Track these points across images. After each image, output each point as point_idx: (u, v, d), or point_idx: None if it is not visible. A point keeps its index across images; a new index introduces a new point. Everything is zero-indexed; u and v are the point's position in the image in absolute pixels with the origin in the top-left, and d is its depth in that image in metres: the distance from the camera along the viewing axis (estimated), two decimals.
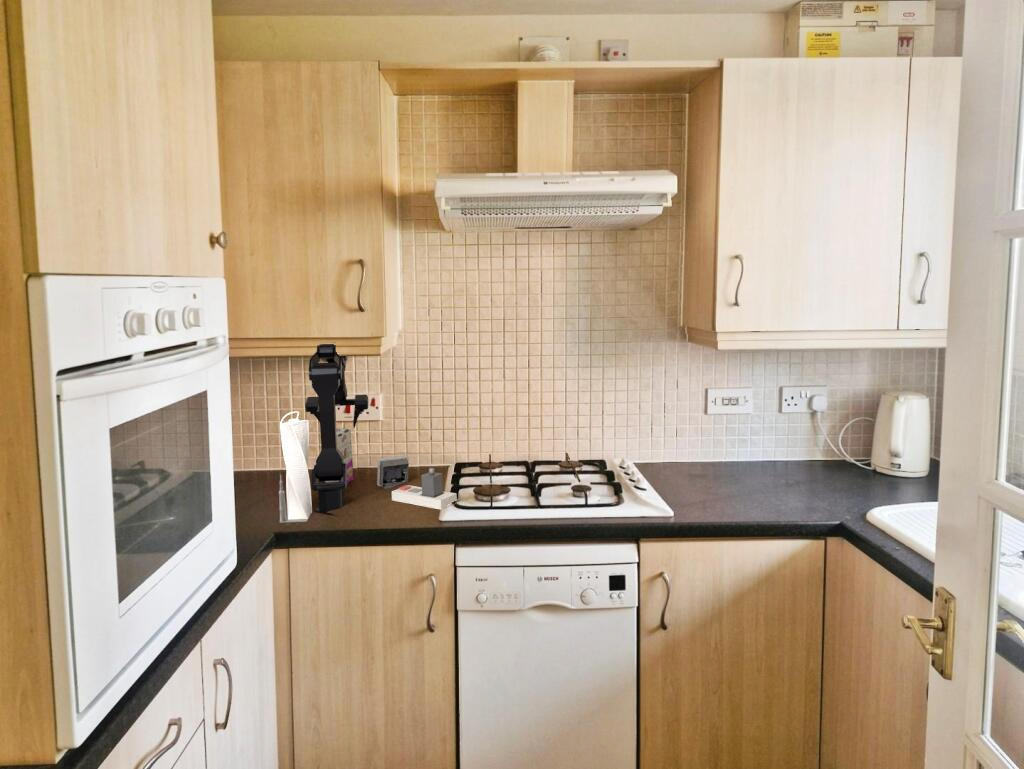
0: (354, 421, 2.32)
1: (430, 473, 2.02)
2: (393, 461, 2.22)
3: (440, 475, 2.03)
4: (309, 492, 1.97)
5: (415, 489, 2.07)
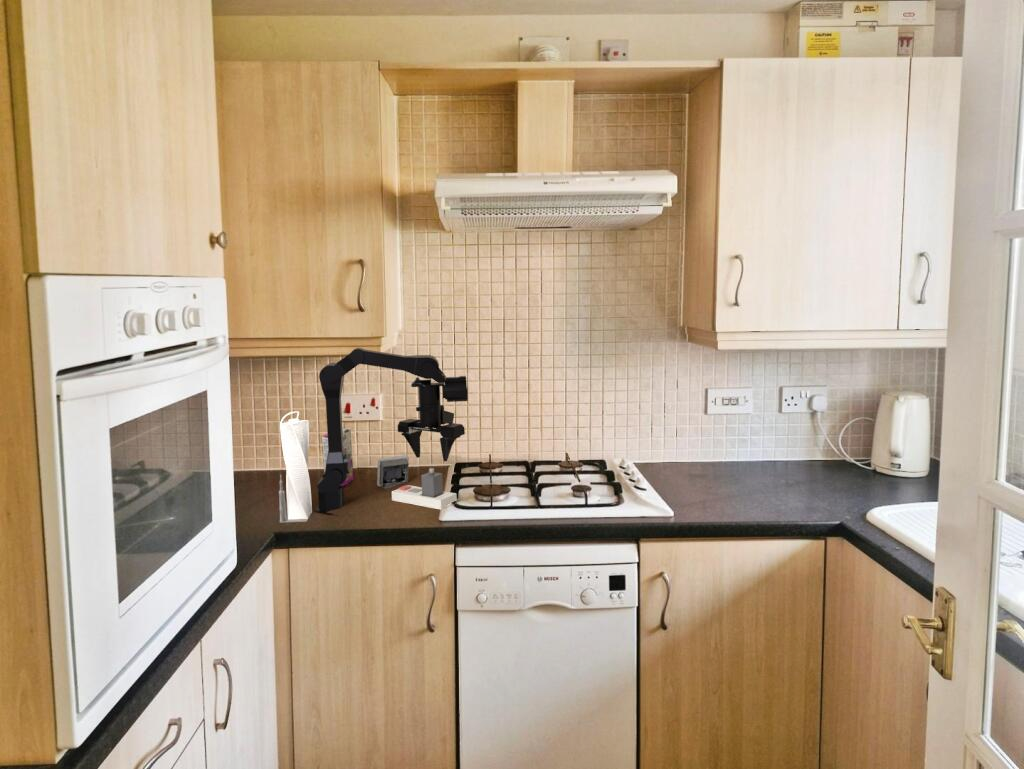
0: (442, 452, 1.99)
1: (430, 473, 2.02)
2: (393, 461, 2.22)
3: (440, 475, 2.03)
4: (309, 492, 1.97)
5: (415, 489, 2.07)
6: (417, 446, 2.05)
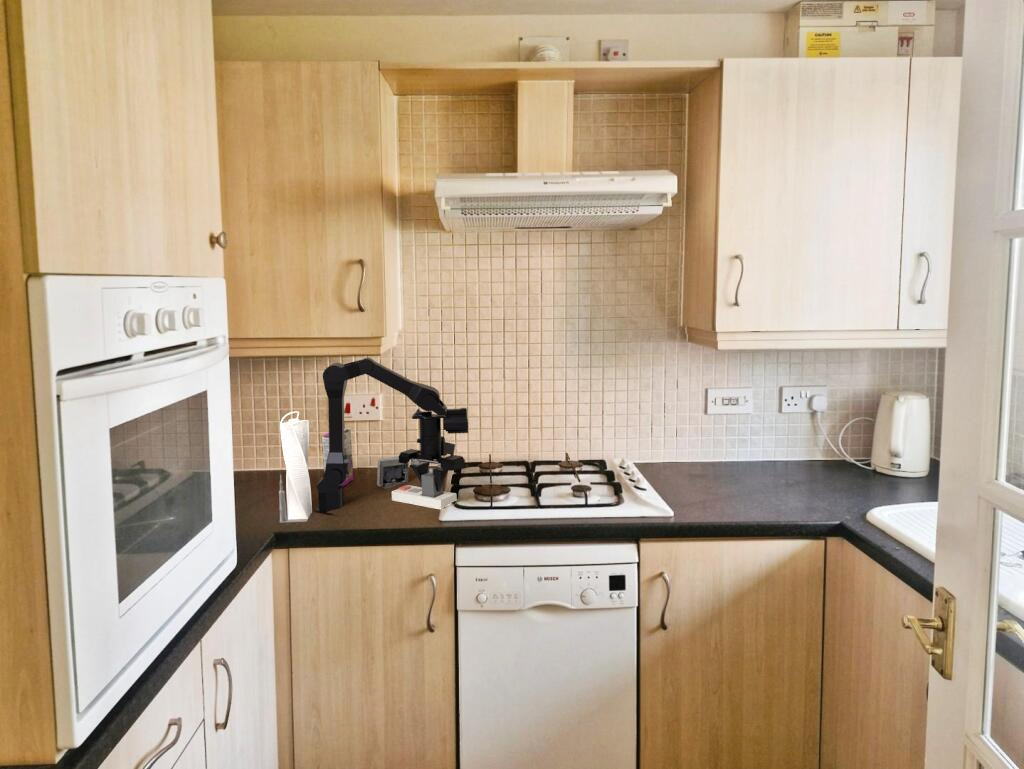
0: (435, 483, 2.01)
1: (430, 473, 2.02)
2: (393, 461, 2.22)
3: None
4: (309, 492, 1.97)
5: (415, 489, 2.07)
6: None
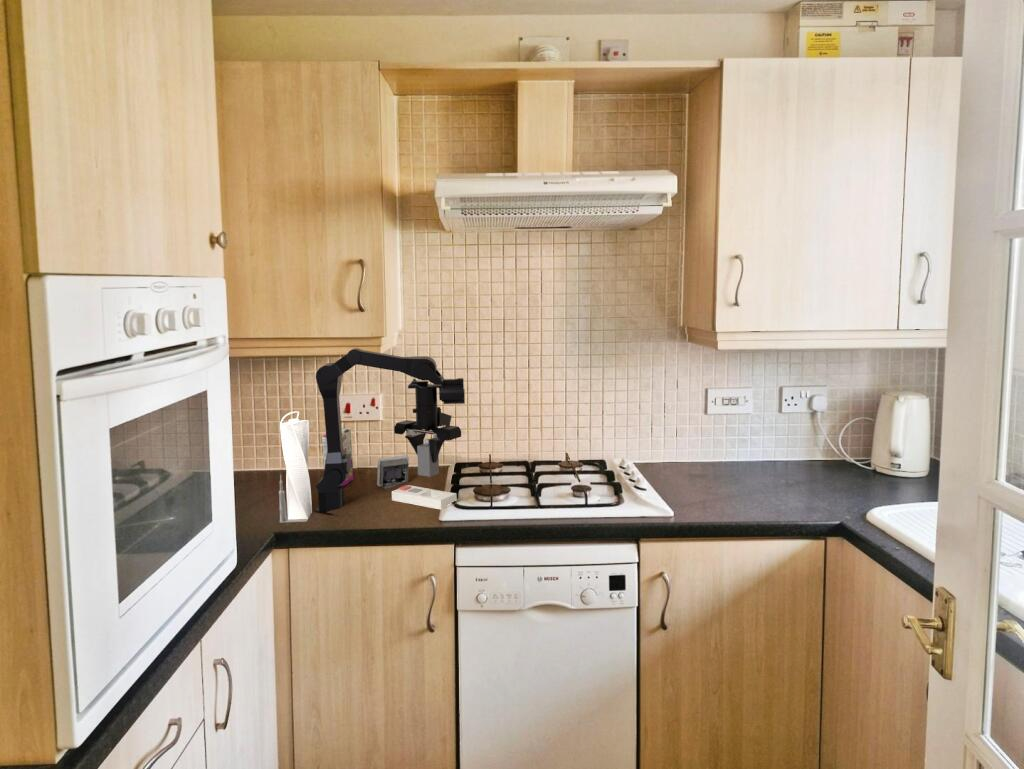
0: (431, 453, 1.99)
1: (426, 444, 2.00)
2: (393, 461, 2.22)
3: None
4: (309, 492, 1.97)
5: (415, 489, 2.07)
6: None
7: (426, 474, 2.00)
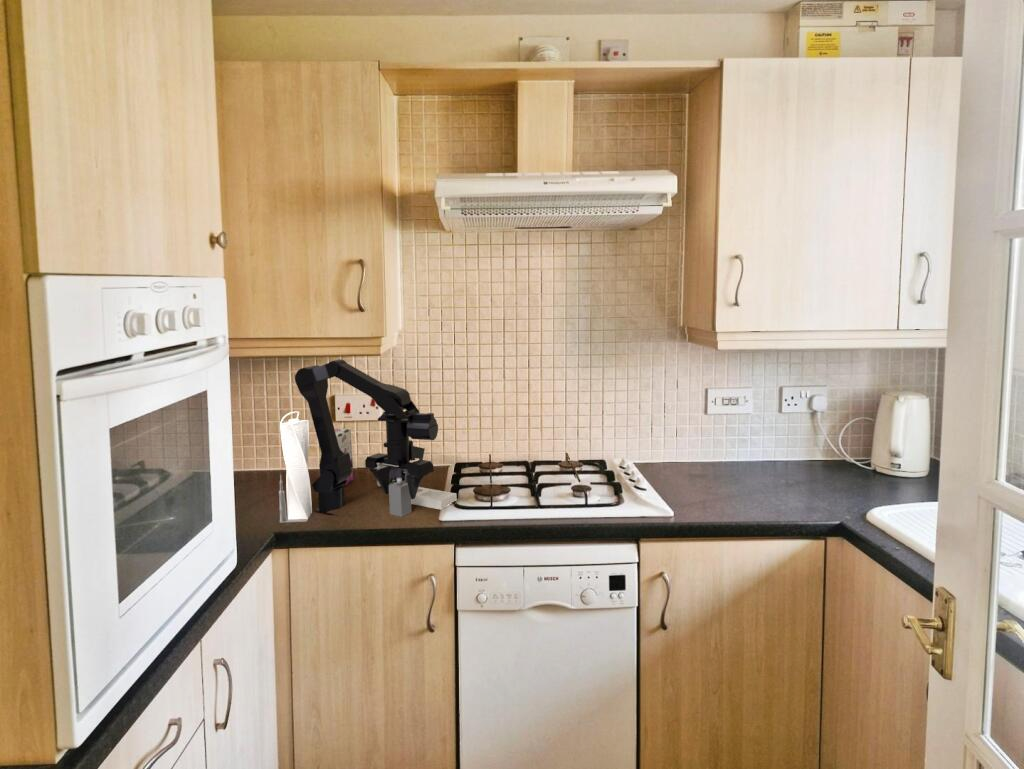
0: (409, 490, 1.91)
1: (398, 483, 1.94)
2: None
3: None
4: (309, 492, 1.97)
5: None
6: (386, 482, 1.97)
7: (398, 514, 1.94)
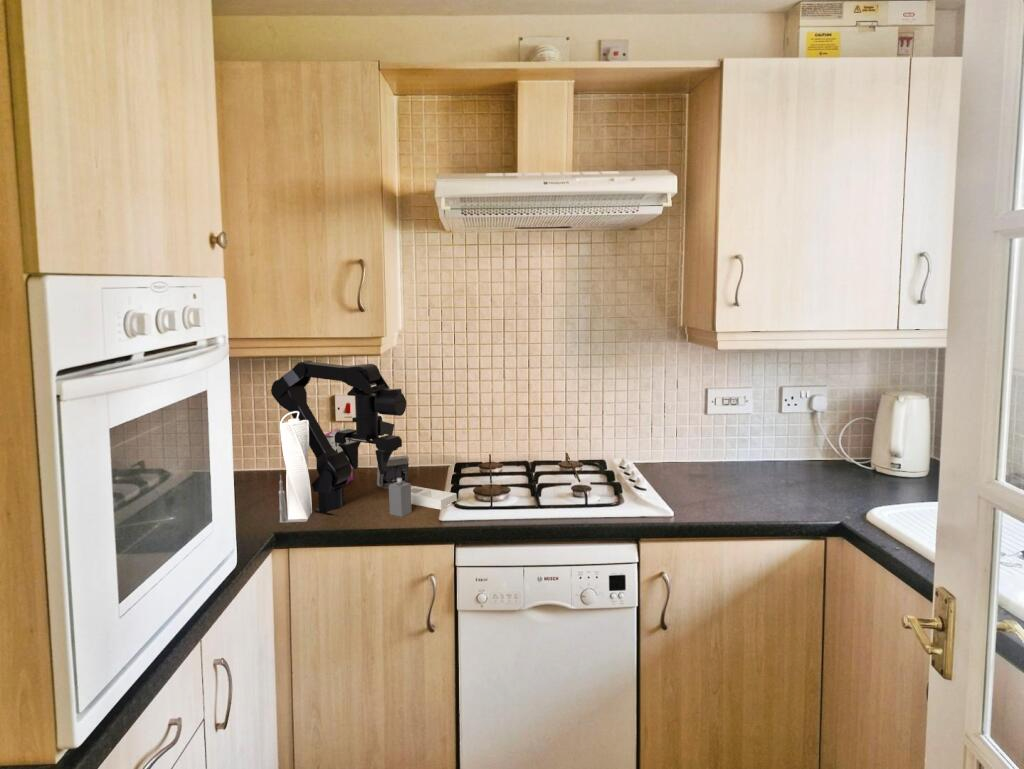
0: (378, 465, 1.92)
1: (398, 483, 1.94)
2: (393, 461, 2.22)
3: (408, 485, 1.95)
4: (309, 492, 1.97)
5: (415, 489, 2.07)
6: (355, 457, 1.98)
7: (398, 514, 1.94)
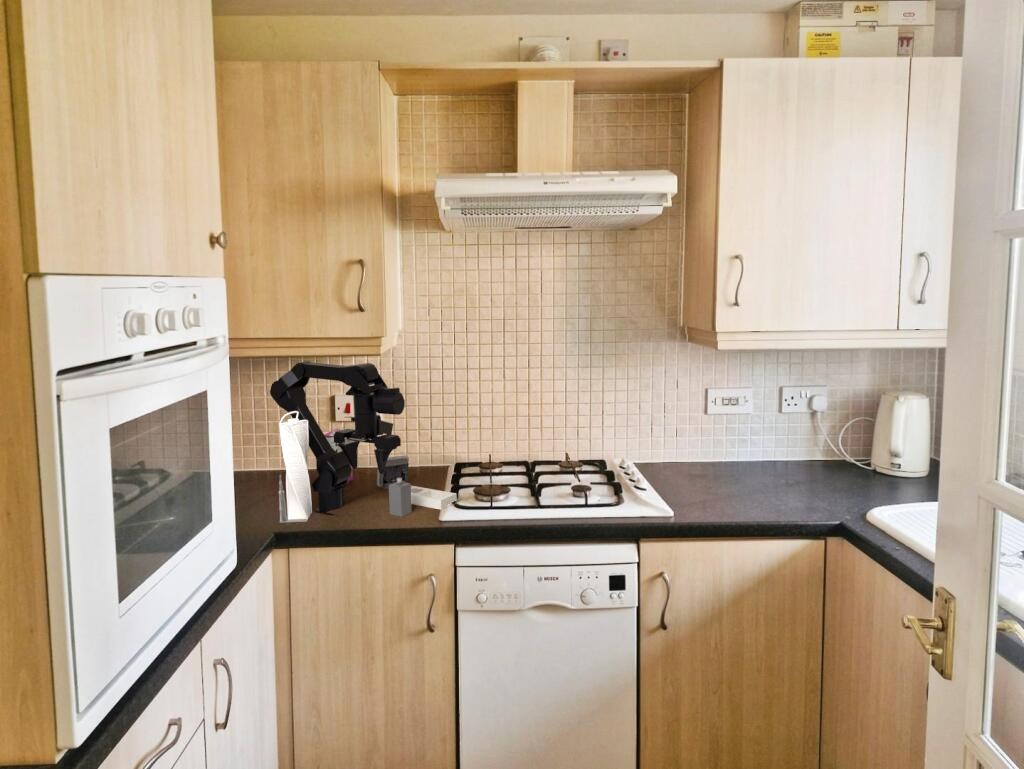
0: (378, 464, 1.92)
1: (398, 483, 1.94)
2: (393, 461, 2.22)
3: (408, 485, 1.95)
4: (309, 492, 1.97)
5: (415, 489, 2.07)
6: (354, 457, 1.98)
7: (398, 514, 1.94)
